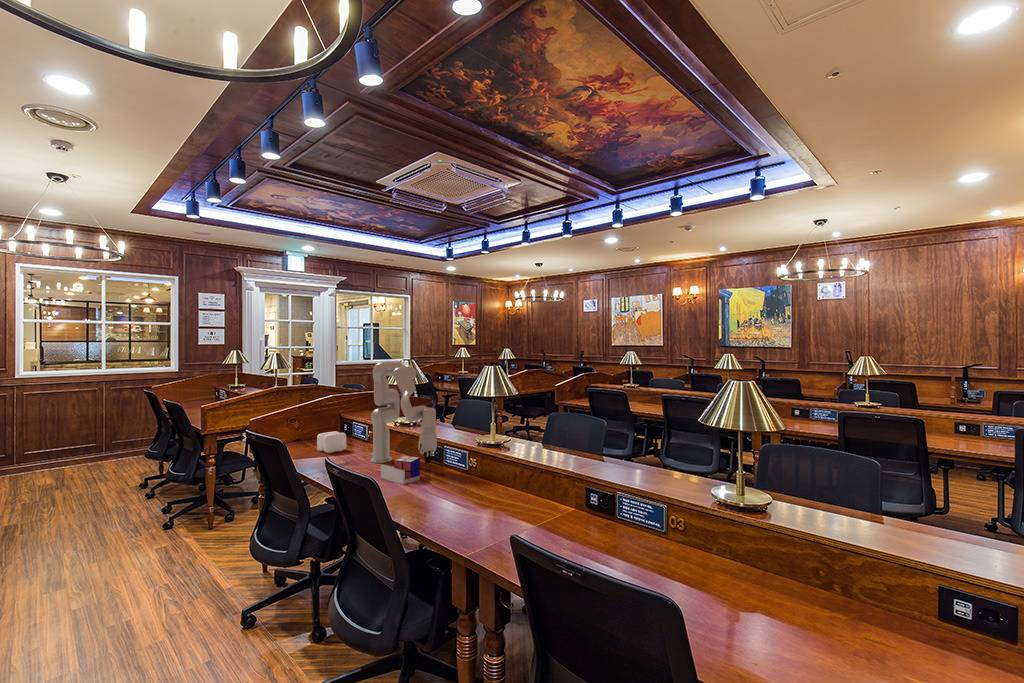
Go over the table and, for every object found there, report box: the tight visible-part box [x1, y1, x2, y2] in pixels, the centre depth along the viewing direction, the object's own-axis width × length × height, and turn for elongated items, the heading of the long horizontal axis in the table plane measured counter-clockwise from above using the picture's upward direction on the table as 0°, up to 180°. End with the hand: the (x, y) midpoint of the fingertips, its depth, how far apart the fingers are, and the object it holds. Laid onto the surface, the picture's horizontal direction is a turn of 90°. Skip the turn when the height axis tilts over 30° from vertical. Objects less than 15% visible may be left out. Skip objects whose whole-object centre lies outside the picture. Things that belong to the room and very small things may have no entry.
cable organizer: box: [316, 430, 347, 454], centre depth 303 cm, size 15×11×12 cm
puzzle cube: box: [393, 455, 421, 479], centre depth 246 cm, size 10×10×10 cm
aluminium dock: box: [380, 463, 421, 486], centre depth 244 cm, size 18×11×7 cm, turn 51°
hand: (427, 462), depth 259 cm, fingers closed
